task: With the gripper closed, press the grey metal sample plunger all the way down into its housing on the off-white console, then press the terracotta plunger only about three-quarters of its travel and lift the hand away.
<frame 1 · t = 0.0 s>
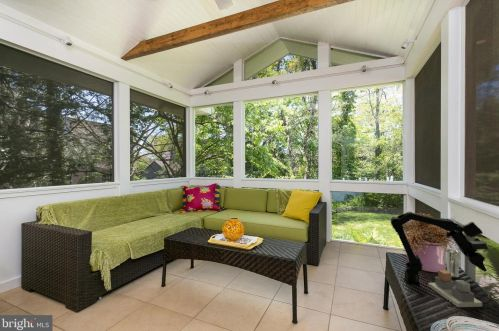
hand: (482, 267, 125), 15 cm above the table, tool tilted 35°, fingers open, 9 cm apart
beer glass: (452, 275, 146), on the table
sample plunger: (462, 286, 119), point 8 cm above the table, slide at 0.0 cm
terracotta plunger: (444, 276, 130), point 8 cm above the table, slide at 0.0 cm
console: (453, 295, 125), on the table
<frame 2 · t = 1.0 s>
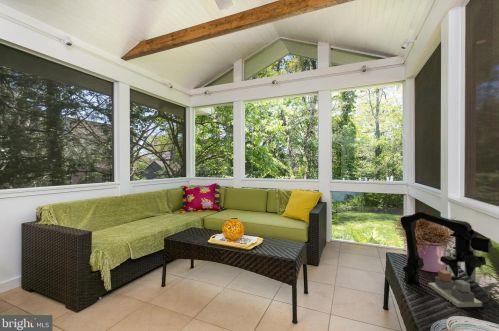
hand: (462, 276, 119), 13 cm above the table, tool pointing down, fingers open, 6 cm apart
nothing on the table moved.
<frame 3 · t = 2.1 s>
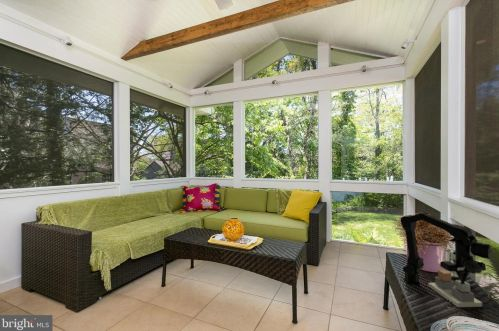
hand: (462, 282, 119), 10 cm above the table, tool pointing down, fingers closed, pressing on sample plunger
sample plunger: (462, 287, 119), point 8 cm above the table, slide at 0.0 cm, touching gripper
everything else where it was.
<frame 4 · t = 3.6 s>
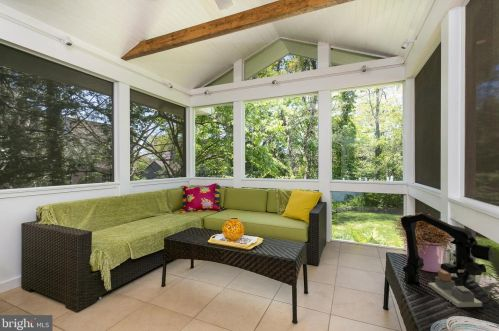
hand: (463, 284, 119), 9 cm above the table, tool pointing down, fingers closed
sample plunger: (462, 293, 120), point 5 cm above the table, slide at 3.2 cm
everything else where it was.
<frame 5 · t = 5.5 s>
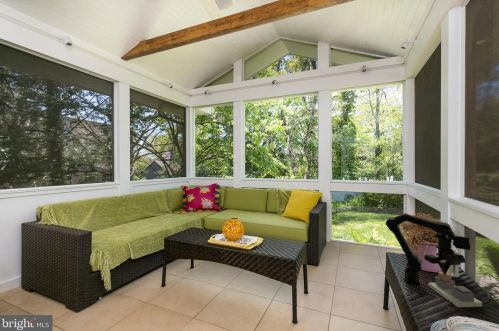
hand: (444, 273, 130), 9 cm above the table, tool pointing down, fingers closed, pressing on terracotta plunger
terracotta plunger: (444, 278, 130), point 7 cm above the table, slide at 1.1 cm, touching gripper
everything else where it was.
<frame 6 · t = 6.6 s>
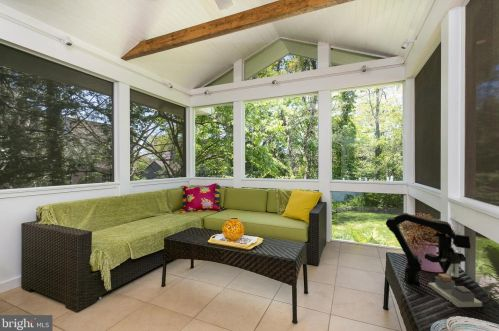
hand: (444, 272, 130), 10 cm above the table, tool pointing down, fingers closed
terracotta plunger: (444, 280, 130), point 6 cm above the table, slide at 2.2 cm
everything else where it was.
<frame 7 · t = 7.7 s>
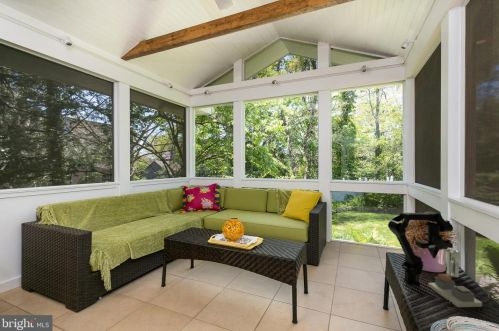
hand: (433, 258, 142), 13 cm above the table, tool pointing down, fingers closed
nothing on the table moved.
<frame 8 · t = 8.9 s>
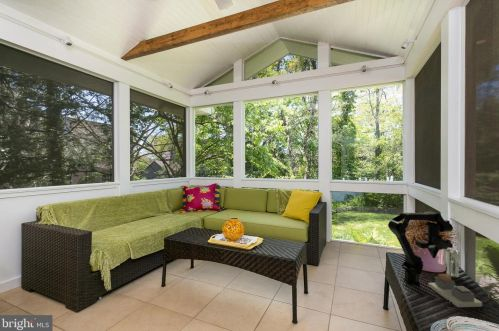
hand: (433, 258, 142), 13 cm above the table, tool pointing down, fingers closed
nothing on the table moved.
at the end: sample plunger slide at 3.2 cm; terracotta plunger slide at 2.2 cm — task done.
